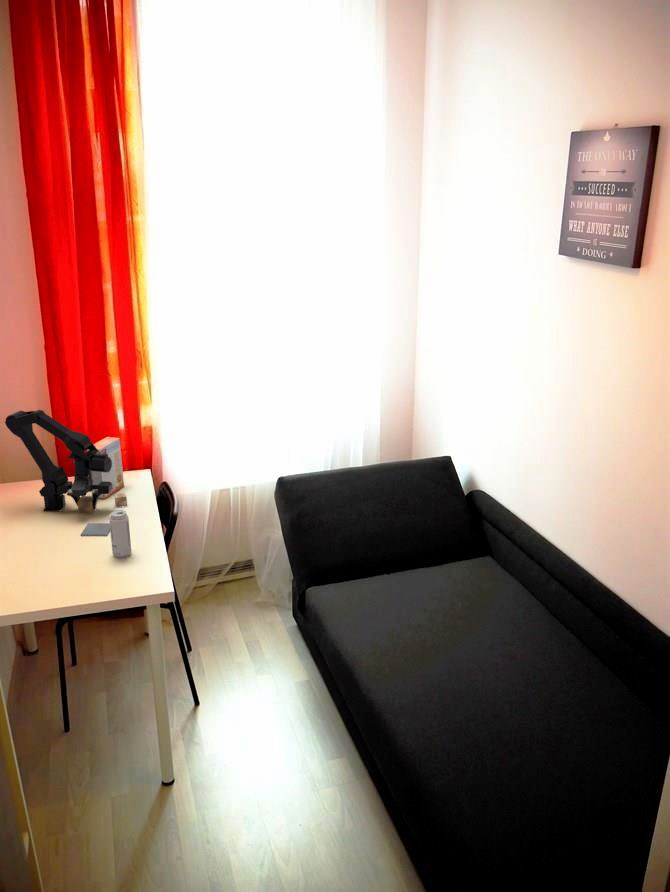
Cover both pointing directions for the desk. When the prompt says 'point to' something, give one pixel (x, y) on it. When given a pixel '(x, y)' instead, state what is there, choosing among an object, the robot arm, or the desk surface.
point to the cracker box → (116, 472)
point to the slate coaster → (96, 529)
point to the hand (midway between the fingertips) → (87, 508)
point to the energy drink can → (120, 534)
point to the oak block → (120, 499)
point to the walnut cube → (85, 505)
